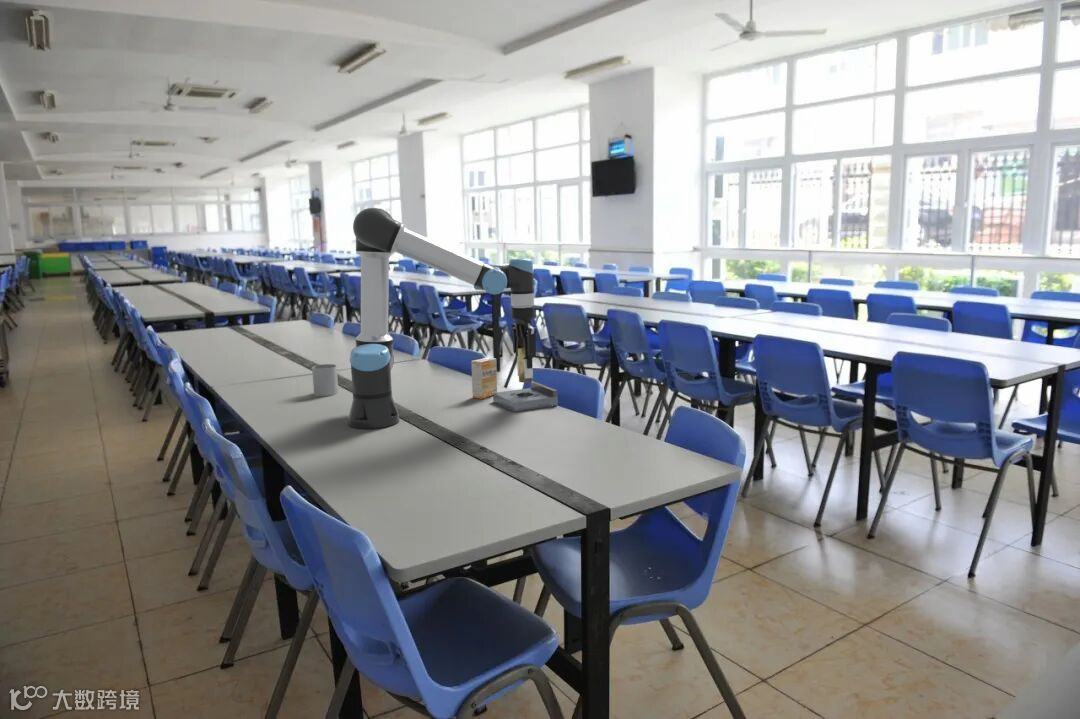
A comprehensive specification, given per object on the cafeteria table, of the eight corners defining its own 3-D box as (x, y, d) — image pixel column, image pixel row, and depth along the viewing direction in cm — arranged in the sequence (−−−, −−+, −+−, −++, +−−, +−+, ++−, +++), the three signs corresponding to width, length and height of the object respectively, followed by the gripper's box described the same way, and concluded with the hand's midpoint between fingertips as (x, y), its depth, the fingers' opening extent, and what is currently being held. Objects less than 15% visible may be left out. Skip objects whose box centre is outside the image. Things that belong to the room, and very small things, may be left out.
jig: (514, 412, 239) (513, 396, 238) (493, 401, 253) (492, 387, 252) (557, 405, 246) (557, 390, 245) (535, 395, 260) (534, 381, 259)
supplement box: (482, 399, 256) (481, 361, 254) (472, 397, 259) (470, 360, 257) (498, 394, 263) (496, 358, 260) (487, 392, 265) (486, 356, 263)
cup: (341, 391, 273) (339, 364, 271) (333, 396, 265) (331, 368, 263) (319, 390, 274) (317, 364, 272) (310, 396, 266) (308, 368, 264)
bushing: (522, 383, 245) (521, 350, 243) (516, 380, 249) (515, 348, 247) (534, 381, 247) (533, 348, 245) (528, 379, 251) (527, 346, 249)
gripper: (545, 307, 237) (547, 379, 242) (521, 303, 252) (523, 370, 257) (524, 309, 234) (527, 382, 238) (500, 304, 249) (503, 373, 253)
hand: (525, 376), depth 248 cm, fingers closed on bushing, 4 cm apart
